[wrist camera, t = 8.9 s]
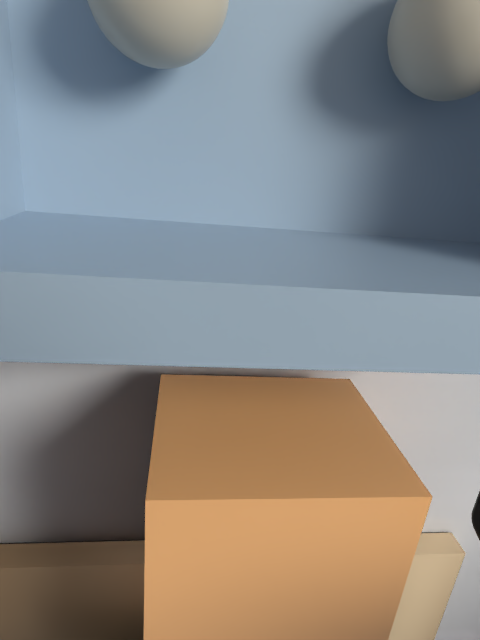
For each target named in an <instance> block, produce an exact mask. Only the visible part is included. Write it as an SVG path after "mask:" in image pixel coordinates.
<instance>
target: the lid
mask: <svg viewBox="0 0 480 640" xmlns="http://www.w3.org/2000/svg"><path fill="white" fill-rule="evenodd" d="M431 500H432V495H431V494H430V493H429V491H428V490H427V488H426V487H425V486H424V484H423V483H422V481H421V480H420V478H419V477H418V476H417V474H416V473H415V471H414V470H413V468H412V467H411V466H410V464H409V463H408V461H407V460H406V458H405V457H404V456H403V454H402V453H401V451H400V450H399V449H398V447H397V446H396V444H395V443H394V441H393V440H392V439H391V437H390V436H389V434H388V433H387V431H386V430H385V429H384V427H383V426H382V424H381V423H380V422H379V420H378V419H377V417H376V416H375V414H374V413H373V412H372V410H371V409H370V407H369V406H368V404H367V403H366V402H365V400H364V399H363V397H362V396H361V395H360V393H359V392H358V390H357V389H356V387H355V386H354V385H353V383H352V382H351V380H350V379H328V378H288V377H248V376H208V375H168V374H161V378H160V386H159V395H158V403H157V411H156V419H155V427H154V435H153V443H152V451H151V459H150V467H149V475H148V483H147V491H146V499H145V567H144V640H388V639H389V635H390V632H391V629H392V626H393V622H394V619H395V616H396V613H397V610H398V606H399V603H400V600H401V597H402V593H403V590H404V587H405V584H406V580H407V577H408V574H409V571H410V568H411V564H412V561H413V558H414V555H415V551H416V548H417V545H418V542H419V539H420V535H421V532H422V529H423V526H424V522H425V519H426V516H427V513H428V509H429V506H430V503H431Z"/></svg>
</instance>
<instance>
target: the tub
mask: <svg viewBox="0 0 480 640" xmlns="http://www.w3.org/2000/svg"><path fill="white" fill-rule="evenodd" d="M0 362H37V363H75V364H112V365H149V366H186V367H224V368H261V369H298V370H335V371H373V372H410V373H447V374H480V0H0Z"/></svg>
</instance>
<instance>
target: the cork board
mask: <svg viewBox="0 0 480 640" xmlns="http://www.w3.org/2000/svg"><path fill="white" fill-rule="evenodd" d="M464 556H465V552H464V550H463V549H462V547H461V546H460V544H459V543H458V542H457V540H456V539H455V537H454V536H453V534H452V533H421V535H420V539H419V542H418V545H417V548H416V551H415V555H414V558H413V561H412V564H411V568H410V571H409V574H408V577H407V580H406V584H405V587H404V590H403V593H402V597H401V600H400V603H399V606H398V610H397V613H396V616H395V619H394V622H393V626H392V629H391V632H390V635H389V639H388V640H434V638H435V636H436V633H437V630H438V627H439V625H440V622H441V619H442V616H443V614H444V611H445V608H446V606H447V603H448V600H449V597H450V595H451V592H452V589H453V586H454V584H455V581H456V578H457V575H458V573H459V570H460V567H461V564H462V562H463V559H464ZM144 567H145V541H106V542H67V543H28V544H0V640H144Z"/></svg>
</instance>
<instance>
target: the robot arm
mask: <svg viewBox="0 0 480 640" xmlns="http://www.w3.org/2000/svg"><path fill="white" fill-rule="evenodd" d="M472 523H473V527H474V529H475V531H476V534H477V536H478V538H479V540H480V491H479V494H478V497H477V500H476V503H475V505H474V508H473V511H472Z"/></svg>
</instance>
